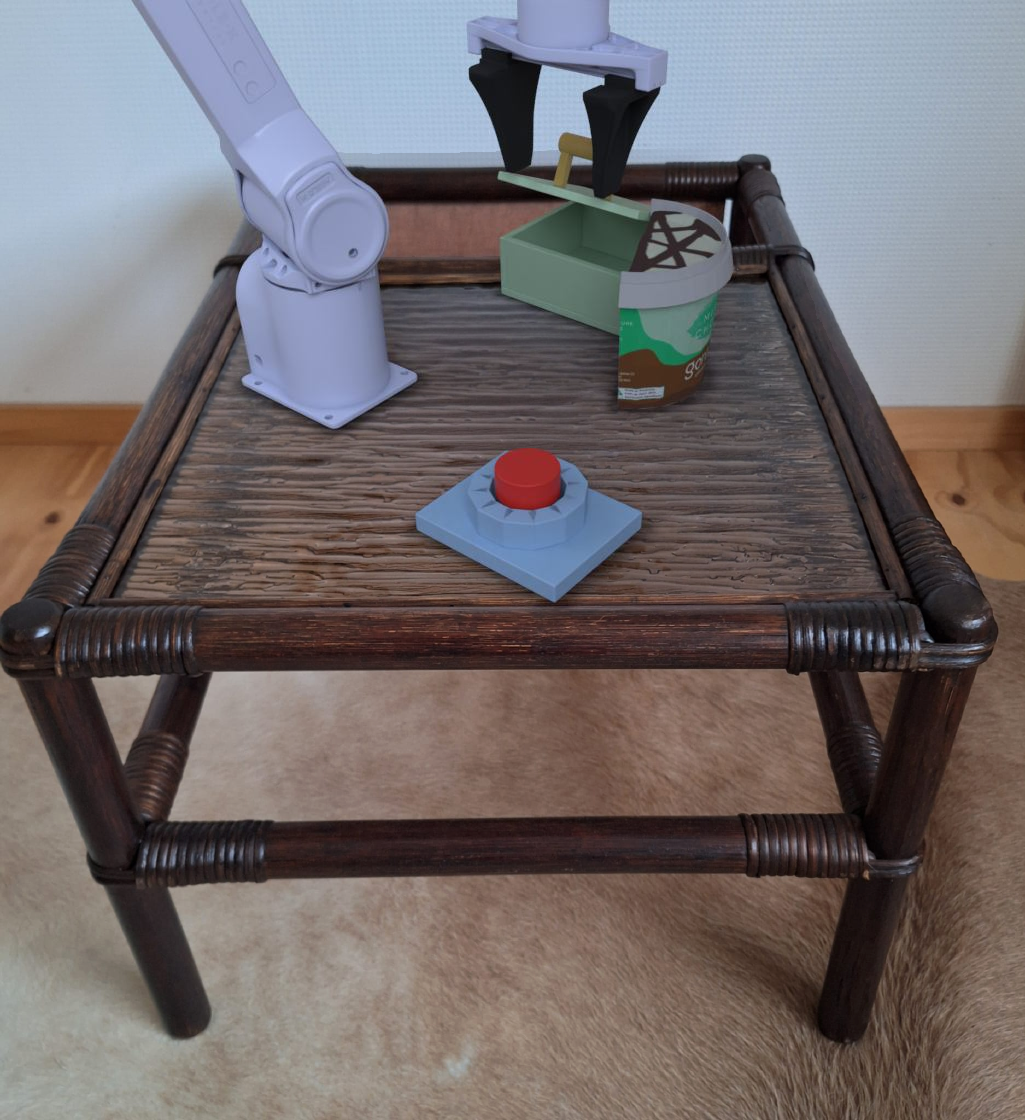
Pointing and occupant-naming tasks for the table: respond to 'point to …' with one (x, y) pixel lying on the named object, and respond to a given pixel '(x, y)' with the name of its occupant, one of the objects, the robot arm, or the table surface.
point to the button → (527, 479)
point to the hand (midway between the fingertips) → (561, 180)
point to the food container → (670, 305)
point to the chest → (571, 262)
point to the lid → (560, 188)
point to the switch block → (531, 530)
